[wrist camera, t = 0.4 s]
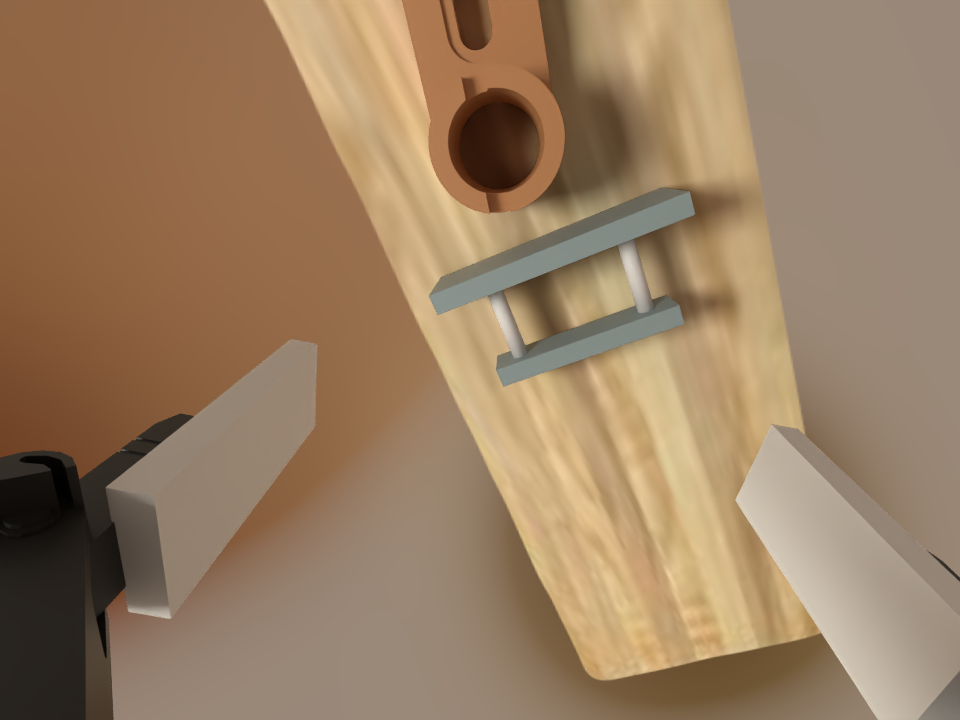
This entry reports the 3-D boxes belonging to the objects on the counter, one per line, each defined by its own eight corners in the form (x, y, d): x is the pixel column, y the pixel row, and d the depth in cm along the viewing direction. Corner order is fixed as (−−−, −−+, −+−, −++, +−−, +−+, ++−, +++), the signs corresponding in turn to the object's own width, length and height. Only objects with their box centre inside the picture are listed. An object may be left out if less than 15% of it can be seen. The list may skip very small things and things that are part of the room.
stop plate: (440, 277, 39) (428, 295, 33) (661, 187, 35) (689, 191, 29) (483, 371, 42) (478, 403, 36) (690, 297, 38) (721, 320, 32)
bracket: (563, 191, 36) (574, 196, 30) (458, 215, 37) (447, 226, 31) (517, -105, 30) (519, -179, 23) (392, -64, 31) (361, -124, 25)
